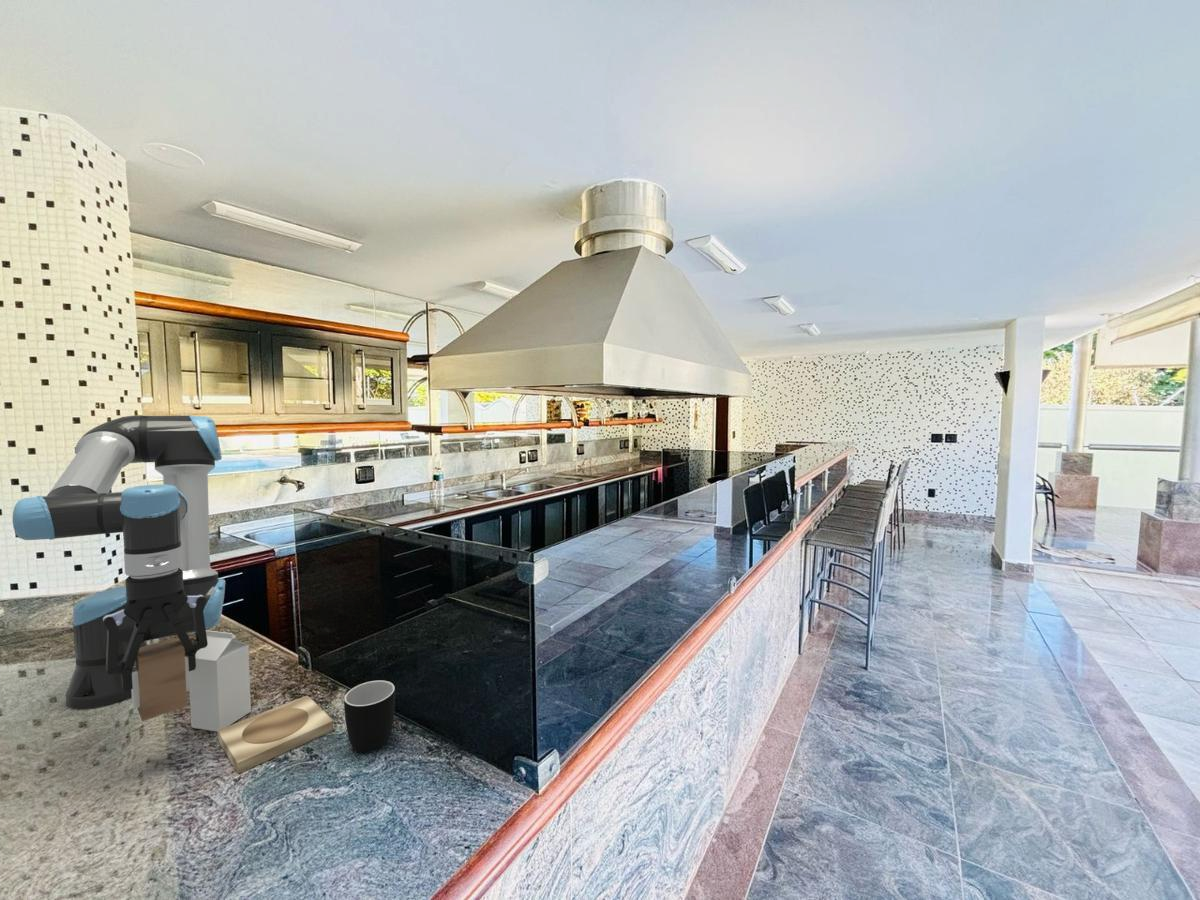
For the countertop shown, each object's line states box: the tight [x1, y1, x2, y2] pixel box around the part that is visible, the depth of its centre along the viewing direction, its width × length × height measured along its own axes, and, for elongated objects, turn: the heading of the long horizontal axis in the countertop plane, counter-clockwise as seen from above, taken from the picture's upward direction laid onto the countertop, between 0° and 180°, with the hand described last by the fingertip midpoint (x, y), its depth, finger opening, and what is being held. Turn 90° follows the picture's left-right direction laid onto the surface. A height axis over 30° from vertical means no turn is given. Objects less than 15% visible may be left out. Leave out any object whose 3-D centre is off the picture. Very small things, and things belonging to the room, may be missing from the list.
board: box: [217, 695, 335, 775], centre depth 96 cm, size 14×16×2 cm
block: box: [134, 637, 188, 722], centre depth 87 cm, size 6×6×11 cm
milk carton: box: [189, 629, 252, 733], centre depth 101 cm, size 7×7×19 cm
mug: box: [343, 680, 396, 754], centre depth 95 cm, size 12×9×10 cm
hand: (161, 696), depth 88 cm, fingers closed on block, 6 cm apart
